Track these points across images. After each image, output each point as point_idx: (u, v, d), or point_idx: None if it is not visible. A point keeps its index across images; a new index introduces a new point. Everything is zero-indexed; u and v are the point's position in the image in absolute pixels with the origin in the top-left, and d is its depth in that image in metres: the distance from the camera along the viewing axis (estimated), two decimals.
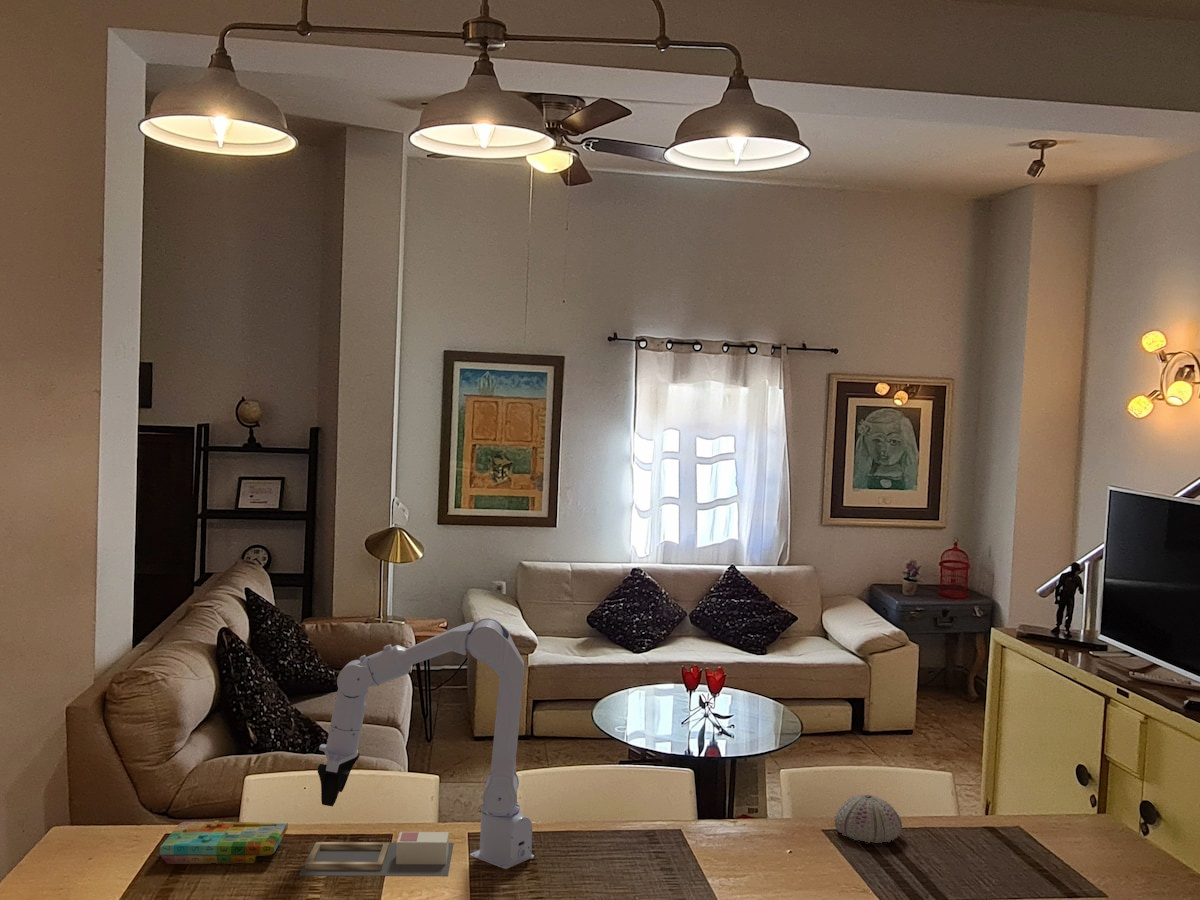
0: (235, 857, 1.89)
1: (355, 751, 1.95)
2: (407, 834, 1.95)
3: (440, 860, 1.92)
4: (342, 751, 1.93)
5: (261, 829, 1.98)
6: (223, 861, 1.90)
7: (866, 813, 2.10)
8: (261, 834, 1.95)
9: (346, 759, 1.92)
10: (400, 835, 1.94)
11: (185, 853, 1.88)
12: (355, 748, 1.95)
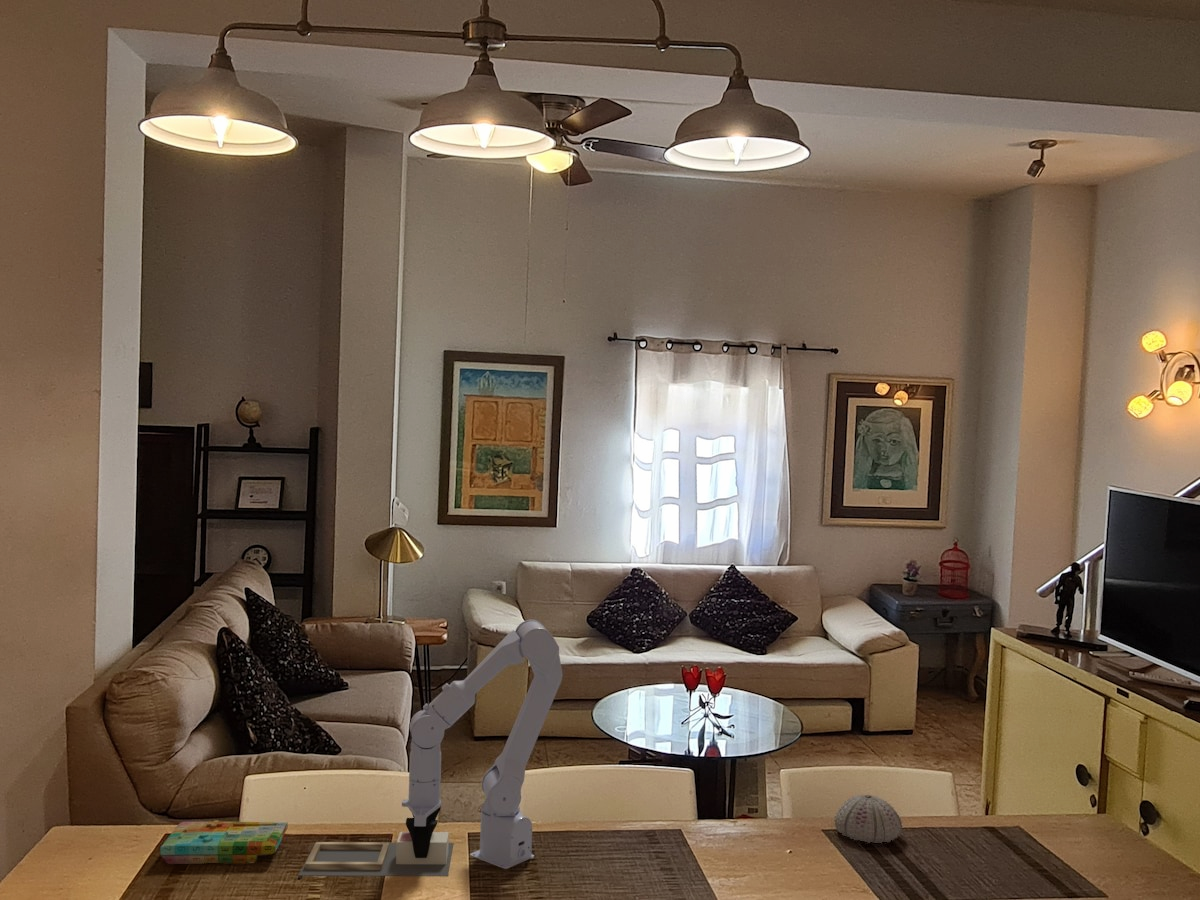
0: (236, 857, 1.90)
1: (438, 801, 1.93)
2: (407, 834, 1.95)
3: (440, 860, 1.92)
4: (426, 803, 1.91)
5: (261, 828, 1.98)
6: (225, 861, 1.90)
7: (866, 813, 2.10)
8: (261, 834, 1.95)
9: (432, 811, 1.90)
10: (400, 835, 1.94)
11: (186, 853, 1.88)
12: (438, 798, 1.93)
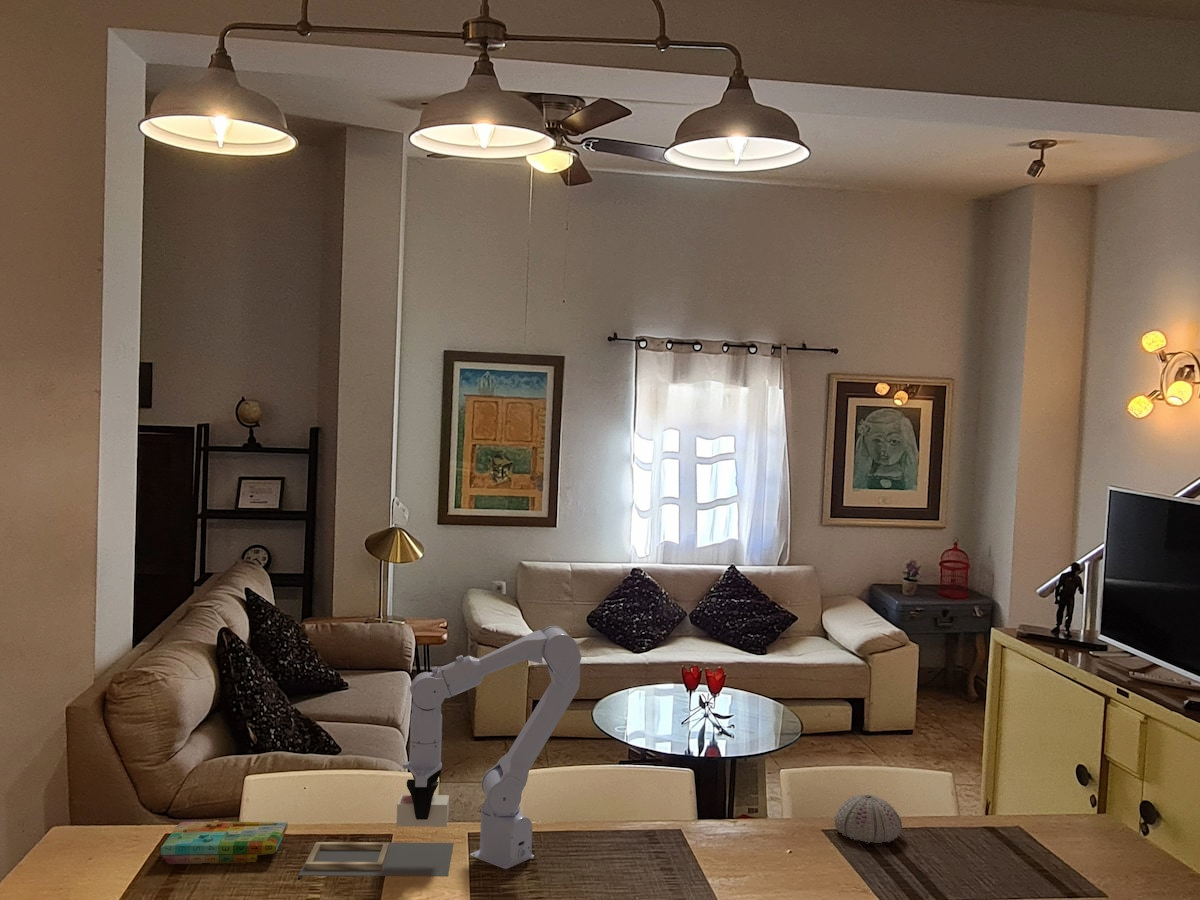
0: (237, 856, 1.90)
1: (439, 763, 1.93)
2: (407, 797, 1.94)
3: (440, 822, 1.91)
4: (427, 764, 1.91)
5: (261, 828, 1.98)
6: (225, 861, 1.90)
7: (866, 813, 2.10)
8: (262, 833, 1.95)
9: (432, 772, 1.90)
10: (400, 798, 1.94)
11: (186, 853, 1.88)
12: (439, 760, 1.93)
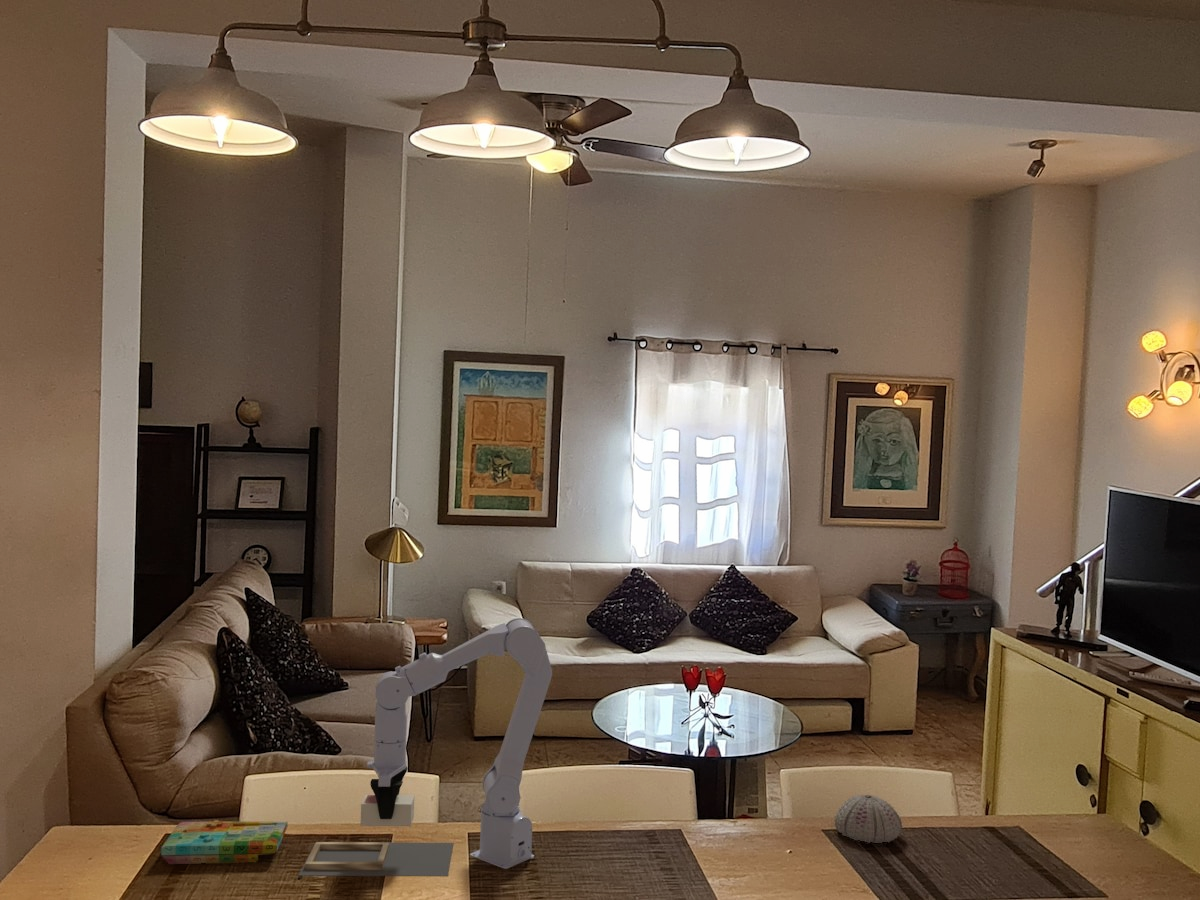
0: (237, 856, 1.90)
1: (404, 762, 1.92)
2: (372, 796, 1.94)
3: (405, 822, 1.91)
4: (391, 764, 1.90)
5: (261, 828, 1.98)
6: (226, 861, 1.90)
7: (866, 813, 2.10)
8: (262, 833, 1.95)
9: (396, 772, 1.89)
10: (365, 797, 1.94)
11: (187, 853, 1.88)
12: (403, 759, 1.92)
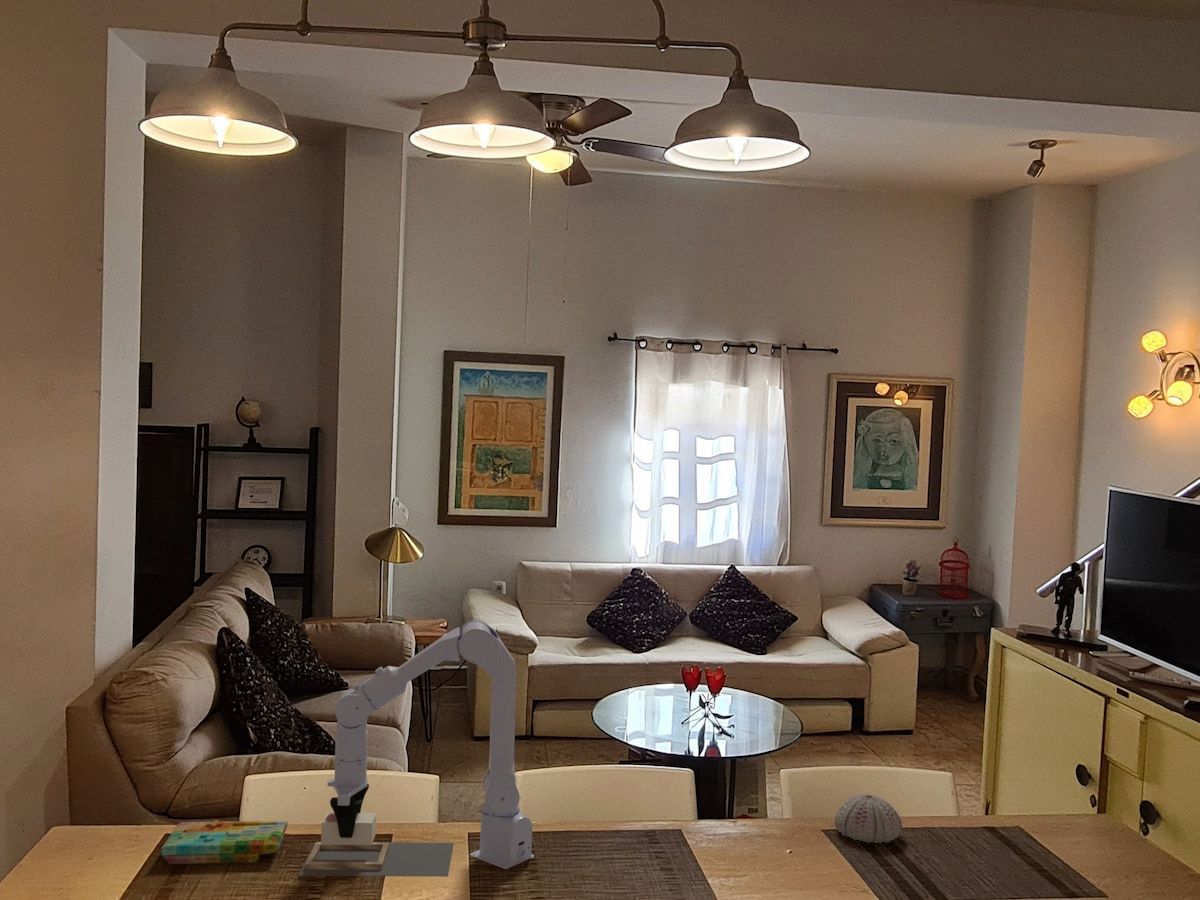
0: (238, 856, 1.90)
1: (364, 781, 1.92)
2: (333, 815, 1.94)
3: (365, 841, 1.91)
4: (351, 782, 1.90)
5: (261, 827, 1.98)
6: (226, 860, 1.90)
7: (866, 813, 2.10)
8: (262, 833, 1.96)
9: (356, 790, 1.89)
10: (326, 816, 1.93)
11: (188, 853, 1.88)
12: (364, 778, 1.92)
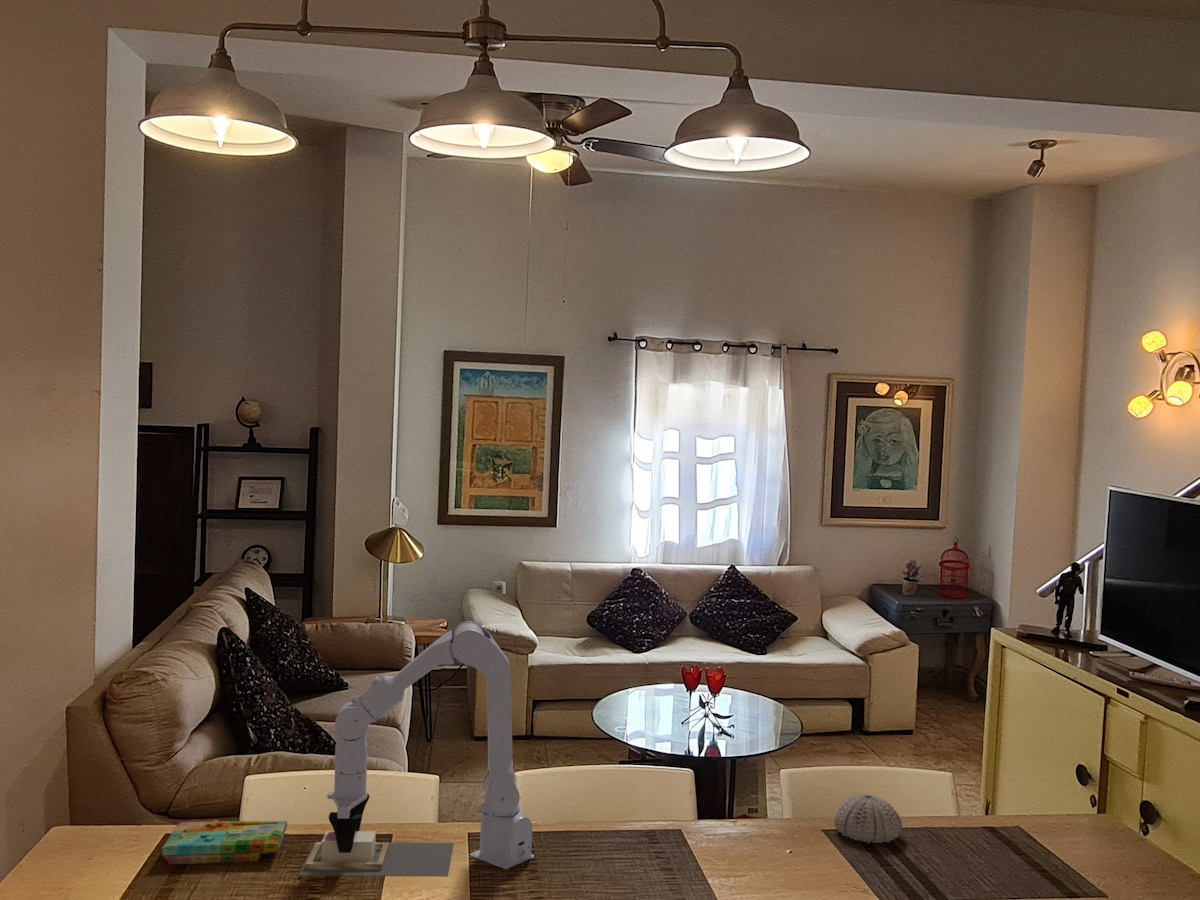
0: (239, 855, 1.90)
1: (364, 793, 1.92)
2: (333, 834, 1.94)
3: (365, 860, 1.91)
4: (351, 795, 1.90)
5: (261, 827, 1.98)
6: (227, 860, 1.90)
7: (865, 813, 2.10)
8: (262, 832, 1.96)
9: (356, 803, 1.89)
10: (326, 835, 1.93)
11: (188, 853, 1.88)
12: (363, 790, 1.92)
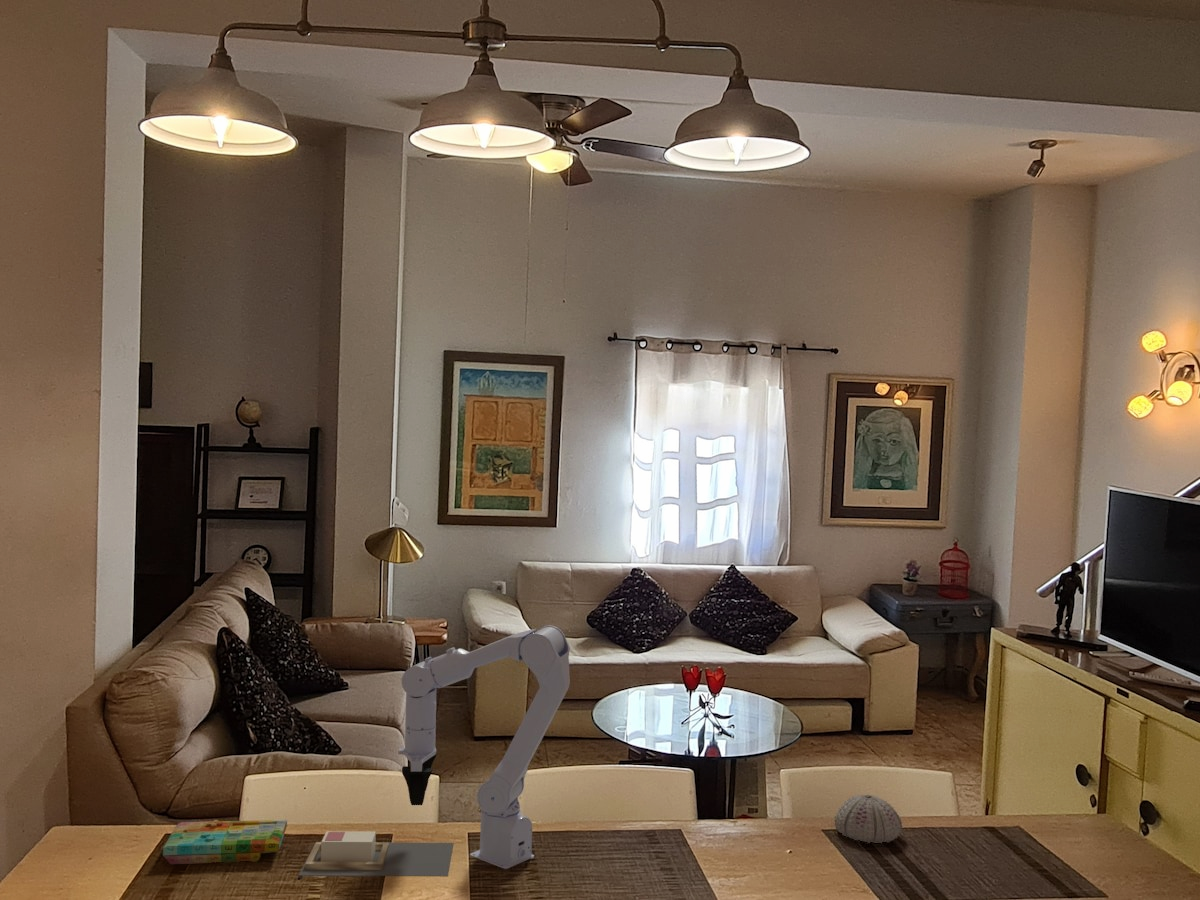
0: (240, 855, 1.90)
1: (433, 749, 2.00)
2: (333, 834, 1.94)
3: (365, 860, 1.91)
4: (422, 750, 1.98)
5: (262, 826, 1.99)
6: (228, 860, 1.90)
7: (866, 813, 2.10)
8: (263, 832, 1.96)
9: (427, 757, 1.97)
10: (326, 835, 1.93)
11: (189, 853, 1.88)
12: (433, 746, 2.00)
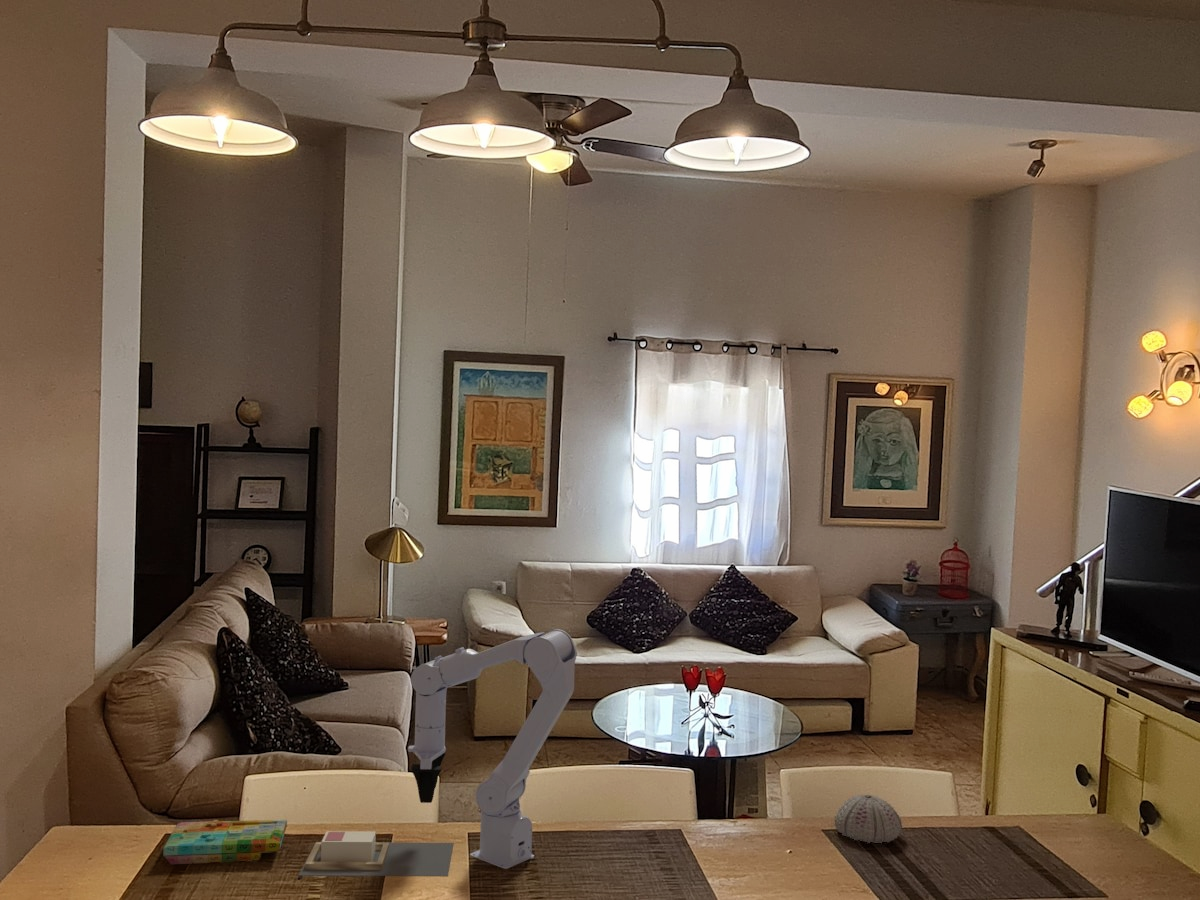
0: (240, 855, 1.90)
1: (443, 747, 2.01)
2: (333, 834, 1.94)
3: (365, 860, 1.91)
4: (432, 748, 1.99)
5: (262, 826, 1.99)
6: (228, 860, 1.90)
7: (866, 813, 2.10)
8: (263, 832, 1.96)
9: (437, 755, 1.98)
10: (326, 835, 1.93)
11: (189, 853, 1.88)
12: (443, 744, 2.01)
